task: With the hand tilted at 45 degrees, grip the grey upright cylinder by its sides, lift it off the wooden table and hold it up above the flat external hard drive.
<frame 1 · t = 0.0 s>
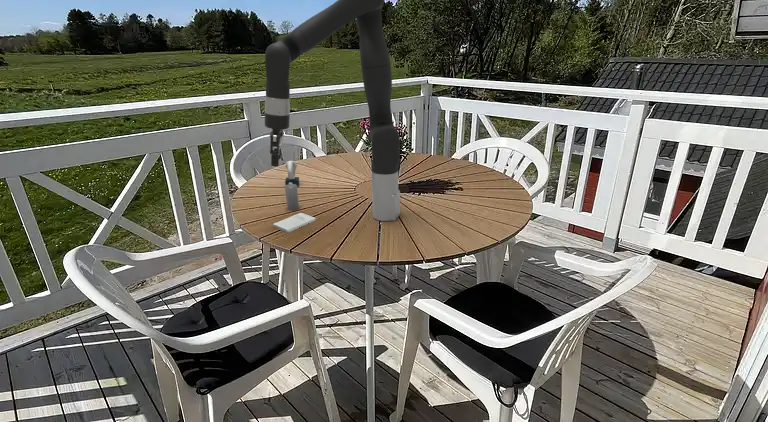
hand: (276, 162, 128), 22 cm above the table, tool pointing down, fingers open, 8 cm apart
grey upright cylinder: (293, 208, 150), on the table
external hard drive: (294, 225, 138), on the table
watch: (292, 185, 174), on the table
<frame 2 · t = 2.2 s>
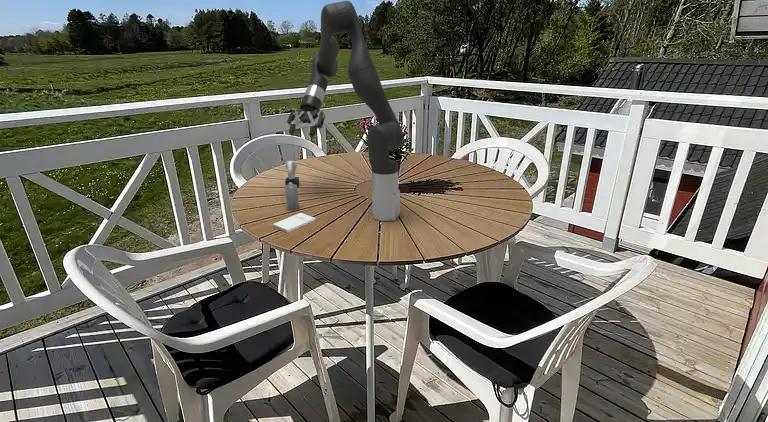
hand: (300, 135, 149), 26 cm above the table, tool tilted 45°, fingers open, 8 cm apart
nothing on the table moved.
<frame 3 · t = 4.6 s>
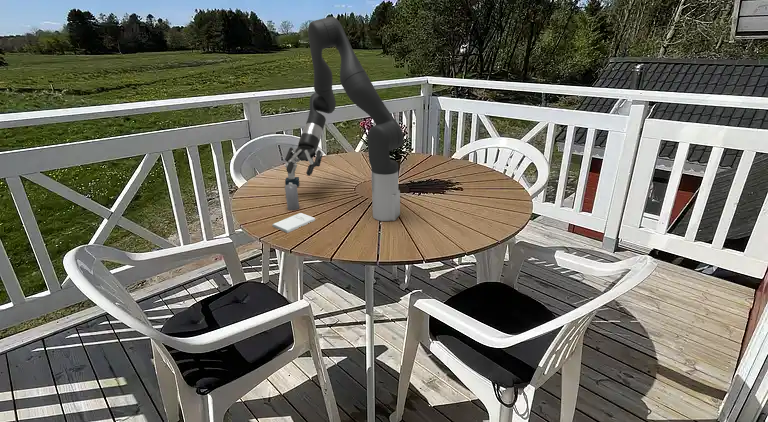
hand: (298, 173, 150), 12 cm above the table, tool tilted 45°, fingers open, 8 cm apart
nothing on the table moved.
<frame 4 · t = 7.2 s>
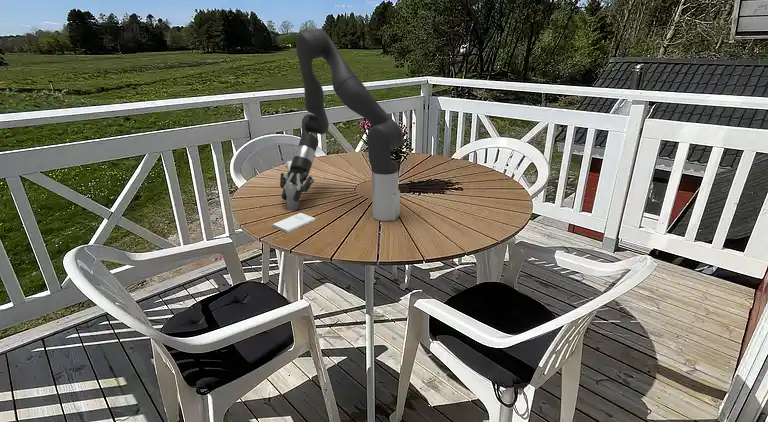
hand: (289, 199, 147), 4 cm above the table, tool tilted 45°, fingers closed on grey upright cylinder, 4 cm apart
grey upright cylinder: (293, 208, 150), on the table, touching gripper
everything else where it was.
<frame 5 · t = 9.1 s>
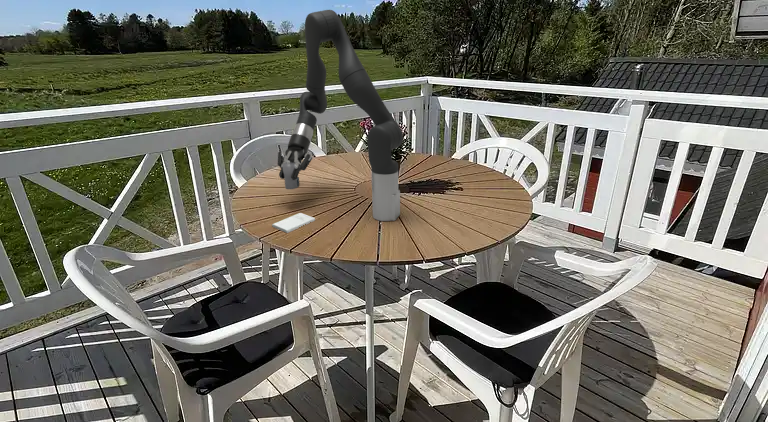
hand: (287, 178, 143), 13 cm above the table, tool tilted 45°, fingers closed on grey upright cylinder, 4 cm apart
grey upright cylinder: (291, 187, 147), point 8 cm above the table, touching gripper
everything else where it was.
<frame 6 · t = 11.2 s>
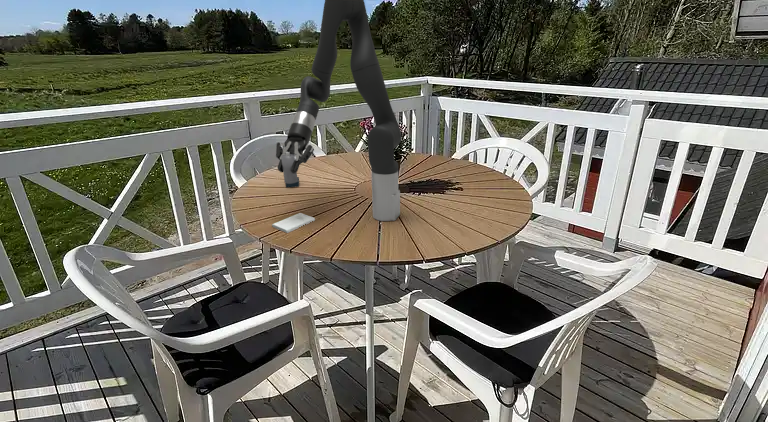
hand: (286, 171, 130), 19 cm above the table, tool tilted 45°, fingers closed on grey upright cylinder, 4 cm apart
grey upright cylinder: (291, 181, 134), point 15 cm above the table, touching gripper
everything else where it was.
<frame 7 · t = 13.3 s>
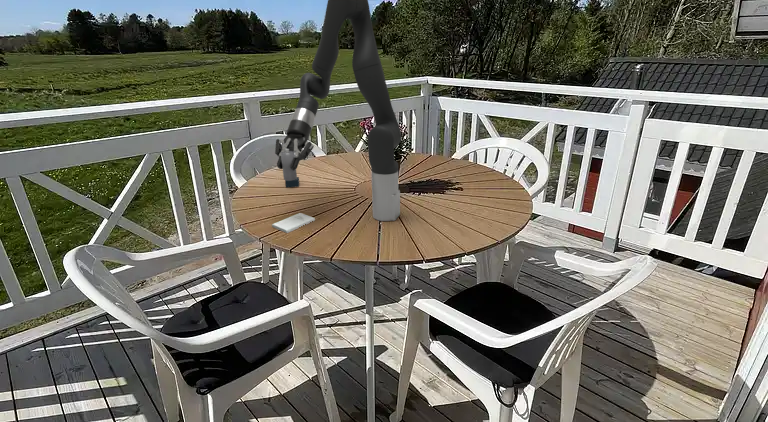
hand: (286, 168, 130), 20 cm above the table, tool tilted 45°, fingers closed on grey upright cylinder, 4 cm apart
grey upright cylinder: (290, 178, 133), point 16 cm above the table, touching gripper
everything else where it was.
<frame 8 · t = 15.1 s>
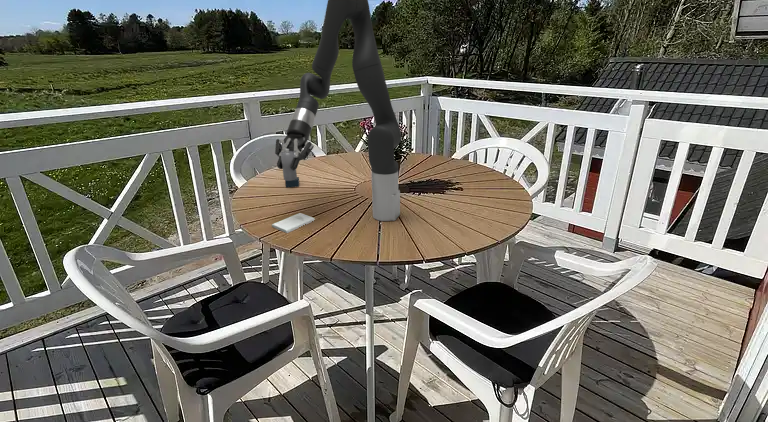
hand: (286, 168, 130), 20 cm above the table, tool tilted 45°, fingers closed on grey upright cylinder, 4 cm apart
grey upright cylinder: (290, 178, 133), point 16 cm above the table, touching gripper
everything else where it was.
at the end: the gripper is holding grey upright cylinder; grey upright cylinder inside the target area (1.0 cm from its centre), point 15.9 cm above the table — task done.
